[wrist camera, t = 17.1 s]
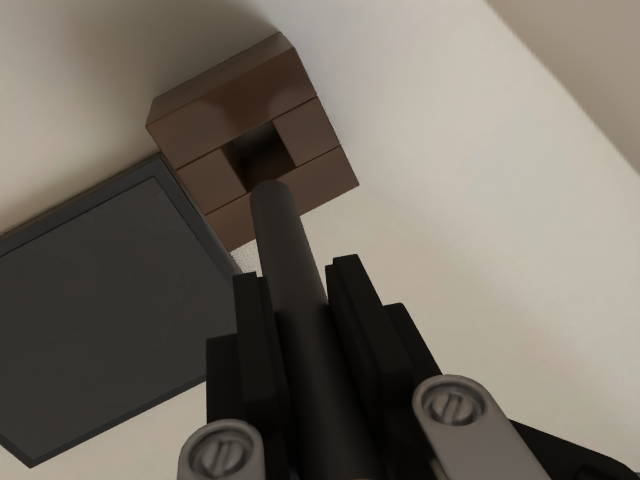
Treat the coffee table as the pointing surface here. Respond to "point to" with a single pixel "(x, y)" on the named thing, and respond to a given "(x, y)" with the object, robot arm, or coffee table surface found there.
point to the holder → (241, 117)
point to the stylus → (311, 348)
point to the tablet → (107, 309)
